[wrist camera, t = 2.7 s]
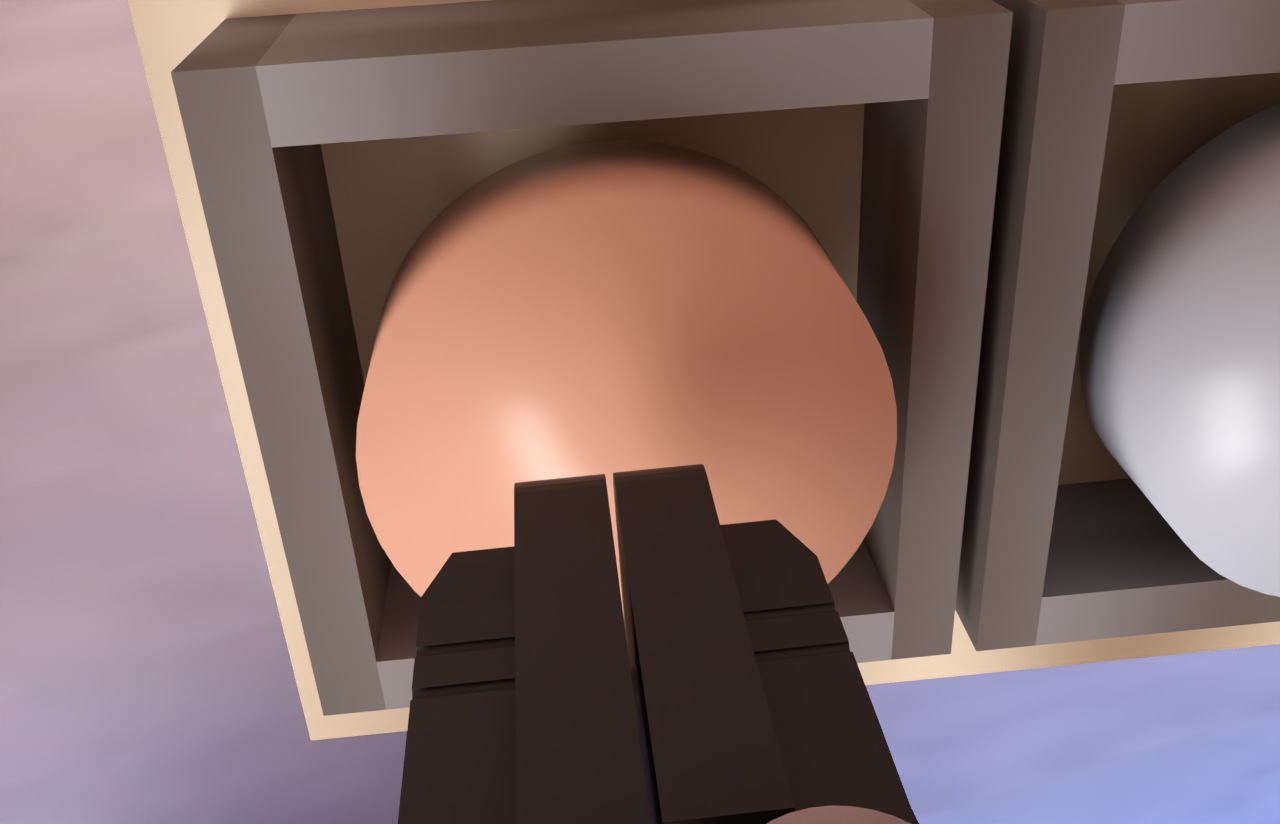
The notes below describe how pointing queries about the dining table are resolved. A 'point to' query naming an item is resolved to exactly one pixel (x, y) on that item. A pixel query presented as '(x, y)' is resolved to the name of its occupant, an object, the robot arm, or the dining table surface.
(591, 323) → the button terracotta
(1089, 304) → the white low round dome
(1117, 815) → the dining table surface
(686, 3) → the button panel
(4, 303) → the dining table surface
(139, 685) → the dining table surface
